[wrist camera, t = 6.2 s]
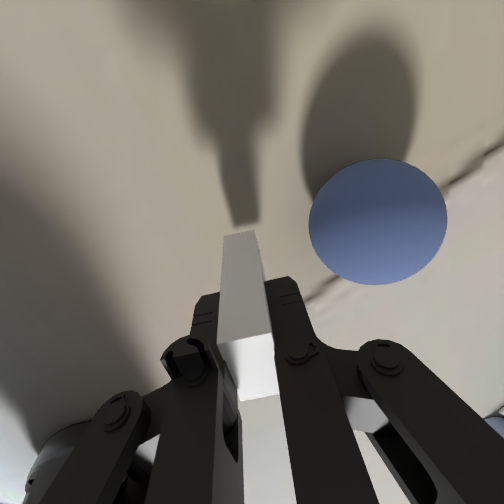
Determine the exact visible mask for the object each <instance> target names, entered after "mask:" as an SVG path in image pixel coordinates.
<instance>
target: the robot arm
mask: <svg viewBox="0 0 504 504" xmlns="http://www.w3.org/2000/svg"><path fill="white" fill-rule="evenodd" d="M193 316H194V318H193V320H192V327H191V331H190V335H188V336H185V337H182V338H179V339H178V340H176V341H175V342H173V343H172V344H171V345H170V346H169V347H168V348H167V349H166V350H165V351H164V353H163V355H162V357H161V359H160V361H161V363H162V364H163V366H164V368H165V369H166V371H167V372H168V374H169V376H170V377H171V379H172V380H171V381H170V382H169V383H167V384H166V385H164V386H163V387H161V388H159V389H157V390H155V391H153V392H151V393H149V394H147V395H145V396H143V397H141V396H140V395H139V393H138V392H134V391H125V392H121V393H119V394H117V395H115V396H113V397H112V398H110V399H109V400H108V401H107V402H106V403H104V404H103V405H102V407H101V408H100V409H99V410H98V412H97V413H96V414H95V416H94V417H93V419H92V420H91V422H85V423H81V424H77V425H74V426H71V427H68V428H66V429H63V430H61V431H59V432H58V433H56V434H54V435H53V436H52V437H51V438H49V439H48V441H47V442H46V443H45V445H44V446H43V448H42V450H41V452H40V454H39V456H38V457H37V459H36V461H35V463H34V465H33V466H32V468H31V470H30V473H29V475H28V478H27V481H26V485H25V491H26V495H25V498H24V501H23V504H244V482H243V448H242V420H241V416H240V412H239V410H238V404H237V393H238V396H239V398H240V400H241V401H245V400H250V399H255V398H260V397H266V396H271V395H276V394H280V399H281V406H282V412H283V419H284V425H285V431H286V438H287V444H288V450H289V457H290V463H291V469H292V476H293V482H294V488H295V495H296V501H297V504H379V502H378V499H377V496H376V493H375V491H374V488H373V485H372V482H371V480H370V477H369V474H368V471H367V469H366V466H365V463H364V460H363V458H362V455H361V452H360V449H359V447H358V444H357V441H356V438H355V436H354V433H353V430H358V431H364V432H365V434H366V435H367V437H368V438H369V440H370V441H371V443H372V444H373V446H374V447H375V449H376V451H377V452H378V454H379V455H380V457H381V458H382V460H383V461H384V463H385V464H386V466H387V468H388V469H389V471H390V472H391V474H392V475H393V477H394V478H395V480H396V481H397V483H398V485H399V486H400V488H401V489H402V491H403V492H404V494H405V495H406V497H407V498H408V500H409V502H410V503H411V504H504V438H503V437H502V436H501V435H500V434H499V433H497V432H496V431H495V430H494V429H493V428H492V427H491V426H490V425H489V424H488V423H487V422H486V421H485V420H483V419H482V418H481V417H480V416H479V415H478V414H477V413H476V412H475V411H474V410H473V409H472V408H471V407H470V406H468V405H467V404H466V403H465V402H464V401H463V400H462V399H461V398H460V397H459V396H458V395H457V394H456V393H454V392H453V391H452V390H451V389H450V388H449V387H448V386H447V385H446V384H445V383H444V382H443V381H442V380H440V379H439V378H438V377H437V376H436V375H435V374H434V373H433V372H432V371H431V370H430V369H429V368H428V367H427V366H425V365H424V364H423V363H422V362H421V361H420V360H419V359H418V358H417V357H416V356H415V355H414V354H413V353H411V352H410V351H409V350H408V349H406V348H405V347H403V346H402V345H401V344H398V343H395V342H393V341H390V340H381V339H377V340H372V341H368V342H367V343H365V344H364V345H362V346H361V347H360V349H359V351H351V350H341V349H336V348H332V347H330V346H327V345H326V344H324V343H323V342H321V341H320V340H319V339H318V338H317V336H316V334H315V333H314V330H313V327H312V325H311V322H310V319H309V316H308V313H307V311H306V308H305V305H304V302H303V299H302V296H301V294H300V291H299V288H298V285H297V283H296V282H295V281H294V280H293V279H292V278H290V277H289V276H286V277H282V278H277V279H273V280H268V281H266V278H265V273H264V269H263V265H262V260H261V256H260V252H259V248H258V244H257V240H256V236H255V232H254V230H250V231H245V232H241V233H237V234H232V235H228V236H224V243H223V258H222V272H221V287H220V292H217V293H213V294H208V295H204V296H201V298H200V299H199V301H198V302H197V304H196V305H195V310H194V315H193ZM352 429H353V430H352Z"/></svg>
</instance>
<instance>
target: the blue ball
mask: <svg viewBox="0 0 504 504" xmlns="http://www.w3.org/2000/svg"><path fill="white" fill-rule="evenodd" d="M446 228H447V210H446V205H445V201H444V198H443V196H442V194H441V192H440V190H439V188H438V187H437V186H436V184H435V183H434V182H433V181H432V180H431V179H430V178H429V177H428V176H427V175H426V174H425V173H424V172H422V171H421V170H419V169H418V168H416V167H414V166H412V165H410V164H407V163H405V162H401V161H398V160H391V159H370V160H365V161H361V162H358V163H355V164H352V165H350V166H348V167H346V168H344V169H342V170H340V171H339V172H337V173H336V174H335V175H333V176H332V177H331V178H330V179H329V180H328V181H327V182H326V183H325V184H324V185H323V186H322V188H321V189H320V191H319V192H318V194H317V196H316V197H315V199H314V202H313V205H312V207H311V211H310V215H309V234H310V239H311V242H312V245H313V247H314V250H315V251H316V253H317V255H318V257H319V258H320V259H321V261H322V262H323V263H324V264H325V265H326V266H327V267H328V268H329V269H330V270H331V271H333V272H334V273H336V274H337V275H339V276H341V277H342V278H345V279H347V280H349V281H353V282H356V283H360V284H366V285H383V284H390V283H394V282H398V281H401V280H403V279H406V278H408V277H410V276H412V275H413V274H415V273H417V272H418V271H420V270H421V269H422V268H423V267H425V266H426V265H427V264H428V263H429V262H430V261H431V260H432V258H433V257H434V256H435V255H436V253H437V252H438V250H439V248H440V246H441V244H442V242H443V239H444V236H445V233H446Z"/></svg>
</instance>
